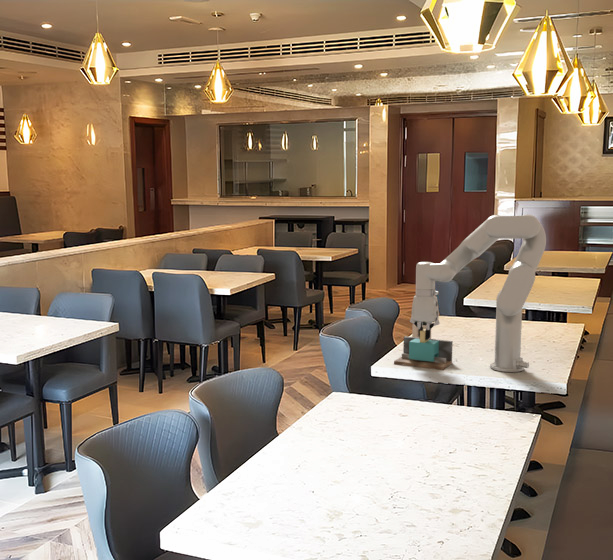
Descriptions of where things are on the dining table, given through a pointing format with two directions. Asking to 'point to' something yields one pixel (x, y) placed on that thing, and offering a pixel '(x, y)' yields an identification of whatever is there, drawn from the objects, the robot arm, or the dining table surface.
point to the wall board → (438, 362)
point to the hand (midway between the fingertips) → (424, 338)
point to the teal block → (423, 348)
